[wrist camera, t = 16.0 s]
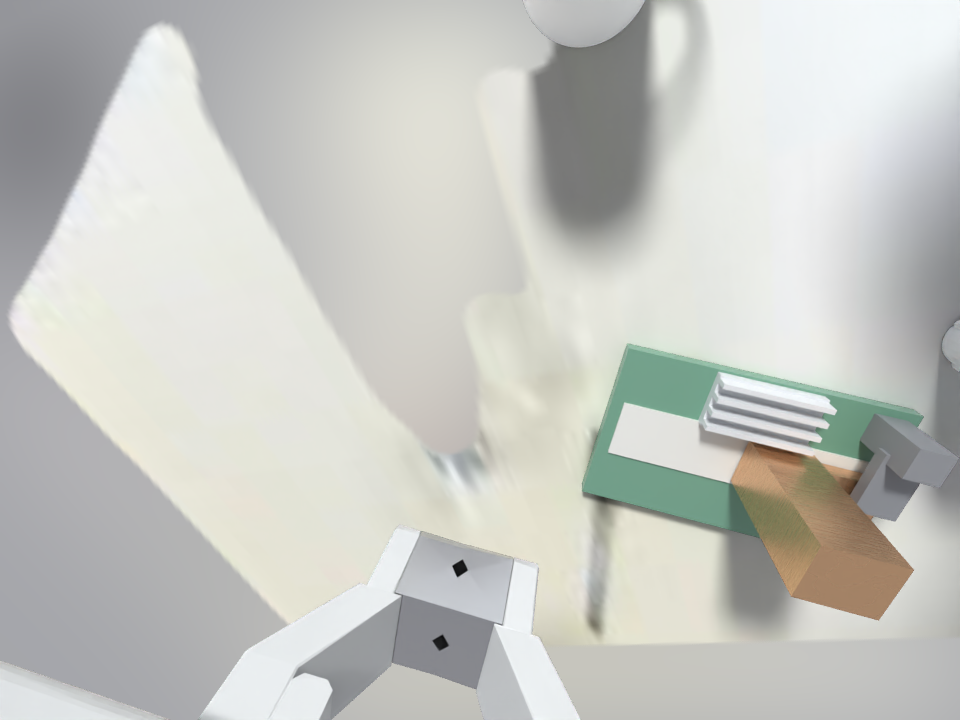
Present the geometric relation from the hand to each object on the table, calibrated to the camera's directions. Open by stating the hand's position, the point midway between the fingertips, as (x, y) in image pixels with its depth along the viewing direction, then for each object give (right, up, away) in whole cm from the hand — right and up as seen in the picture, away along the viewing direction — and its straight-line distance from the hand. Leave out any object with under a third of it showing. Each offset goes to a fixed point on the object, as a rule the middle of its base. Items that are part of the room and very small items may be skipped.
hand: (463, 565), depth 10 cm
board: (+22, -3, +31) cm, 38 cm away
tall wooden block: (+26, -5, +29) cm, 39 cm away
